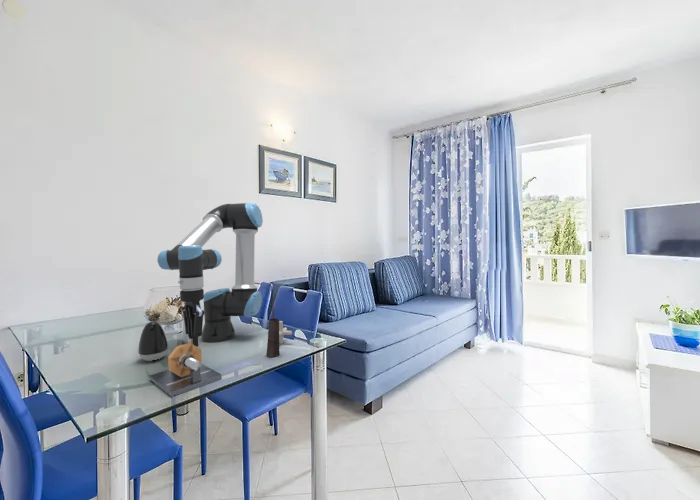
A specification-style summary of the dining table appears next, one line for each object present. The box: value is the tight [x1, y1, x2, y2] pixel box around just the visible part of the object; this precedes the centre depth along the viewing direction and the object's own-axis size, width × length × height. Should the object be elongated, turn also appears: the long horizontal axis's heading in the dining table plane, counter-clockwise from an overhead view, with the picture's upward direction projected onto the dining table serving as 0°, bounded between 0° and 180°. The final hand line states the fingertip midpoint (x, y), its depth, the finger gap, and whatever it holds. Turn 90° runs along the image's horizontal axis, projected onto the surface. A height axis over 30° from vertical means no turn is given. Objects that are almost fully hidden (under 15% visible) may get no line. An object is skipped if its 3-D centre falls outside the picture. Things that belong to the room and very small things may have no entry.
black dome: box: [137, 320, 169, 362], centre depth 128 cm, size 10×10×15 cm
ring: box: [167, 342, 202, 377], centre depth 109 cm, size 2×10×10 cm, turn 139°
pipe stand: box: [148, 350, 222, 398], centre depth 109 cm, size 19×16×9 cm
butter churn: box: [266, 285, 281, 358], centre depth 129 cm, size 9×10×28 cm
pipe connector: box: [279, 320, 293, 345], centre depth 144 cm, size 10×10×10 cm
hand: (194, 355), depth 114 cm, fingers closed
